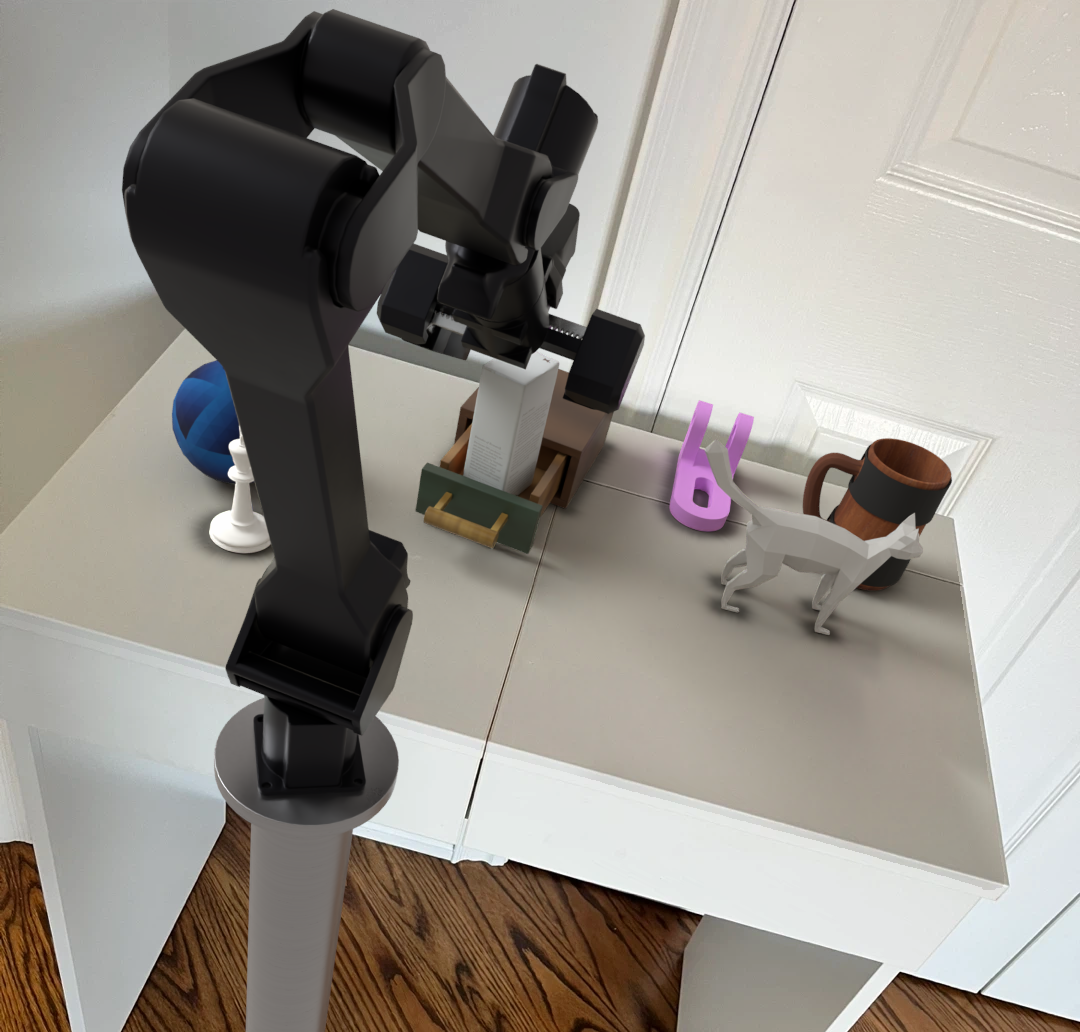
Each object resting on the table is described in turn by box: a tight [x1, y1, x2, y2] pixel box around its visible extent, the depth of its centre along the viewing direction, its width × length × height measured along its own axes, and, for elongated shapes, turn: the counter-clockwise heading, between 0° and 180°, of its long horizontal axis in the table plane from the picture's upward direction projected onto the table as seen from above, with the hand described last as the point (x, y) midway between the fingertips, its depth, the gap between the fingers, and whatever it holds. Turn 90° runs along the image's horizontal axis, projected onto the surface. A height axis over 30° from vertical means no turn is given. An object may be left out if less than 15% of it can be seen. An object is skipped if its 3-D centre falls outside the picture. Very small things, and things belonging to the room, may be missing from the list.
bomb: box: [171, 359, 255, 485], centre depth 81 cm, size 10×11×15 cm
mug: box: [802, 437, 953, 592], centre depth 93 cm, size 9×12×12 cm
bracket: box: [668, 399, 755, 532], centre depth 98 cm, size 13×6×7 cm, turn 169°
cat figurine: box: [704, 438, 924, 636], centre depth 84 cm, size 4×20×14 cm, turn 83°
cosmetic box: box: [463, 350, 560, 496], centre depth 85 cm, size 6×4×12 cm
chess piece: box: [209, 426, 271, 554], centre depth 77 cm, size 5×5×10 cm
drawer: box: [414, 424, 570, 555], centre depth 87 cm, size 17×10×4 cm, turn 162°
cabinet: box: [453, 368, 615, 510], centre depth 96 cm, size 14×12×6 cm
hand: (519, 373), depth 81 cm, fingers open, 9 cm apart
